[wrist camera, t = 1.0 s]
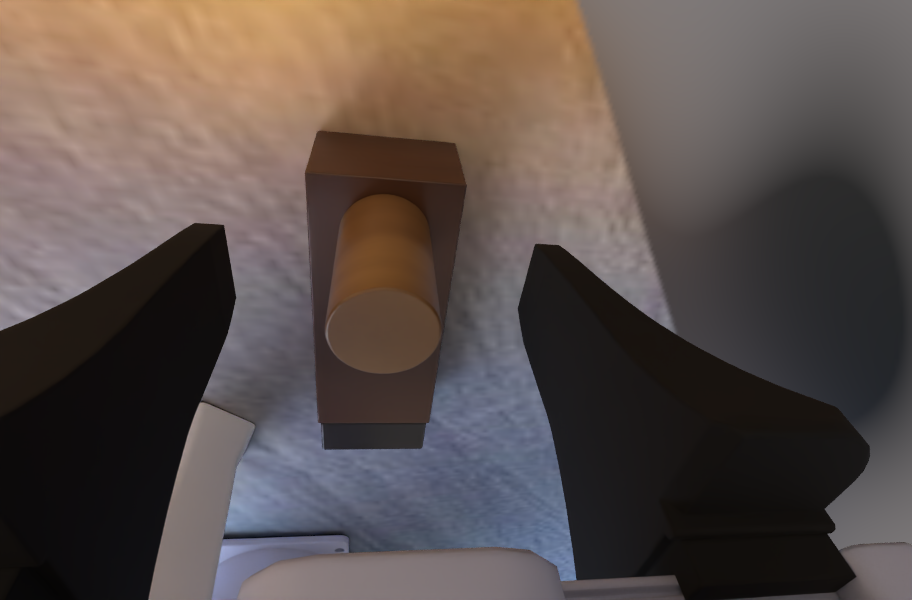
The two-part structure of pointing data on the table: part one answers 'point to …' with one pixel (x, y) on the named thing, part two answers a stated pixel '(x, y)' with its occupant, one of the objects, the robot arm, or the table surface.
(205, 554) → the perfume bottle
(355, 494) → the table surface
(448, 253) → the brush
